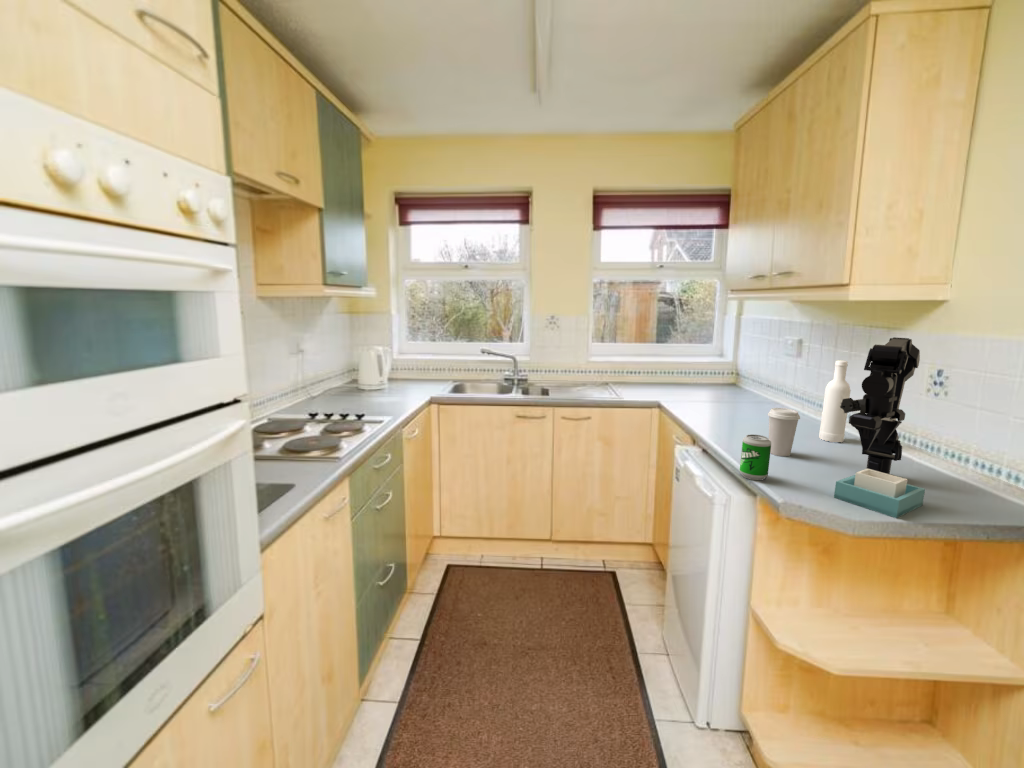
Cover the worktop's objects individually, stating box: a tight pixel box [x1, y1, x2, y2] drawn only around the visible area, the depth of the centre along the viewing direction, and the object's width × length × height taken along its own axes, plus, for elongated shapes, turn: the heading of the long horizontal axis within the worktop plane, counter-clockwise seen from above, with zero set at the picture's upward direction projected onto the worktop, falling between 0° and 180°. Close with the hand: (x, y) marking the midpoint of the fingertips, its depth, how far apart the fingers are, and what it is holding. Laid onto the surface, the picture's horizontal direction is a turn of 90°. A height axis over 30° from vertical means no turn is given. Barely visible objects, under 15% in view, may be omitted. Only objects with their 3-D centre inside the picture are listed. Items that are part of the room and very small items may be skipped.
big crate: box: [833, 474, 926, 519], centre depth 127 cm, size 15×14×4 cm
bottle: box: [818, 359, 852, 443], centre depth 181 cm, size 8×8×30 cm
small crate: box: [854, 468, 908, 498], centre depth 127 cm, size 6×9×6 cm
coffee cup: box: [767, 407, 801, 457], centre depth 165 cm, size 10×10×15 cm
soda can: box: [739, 434, 771, 481], centre depth 143 cm, size 8×8×12 cm
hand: (873, 447), depth 134 cm, fingers open, 9 cm apart
